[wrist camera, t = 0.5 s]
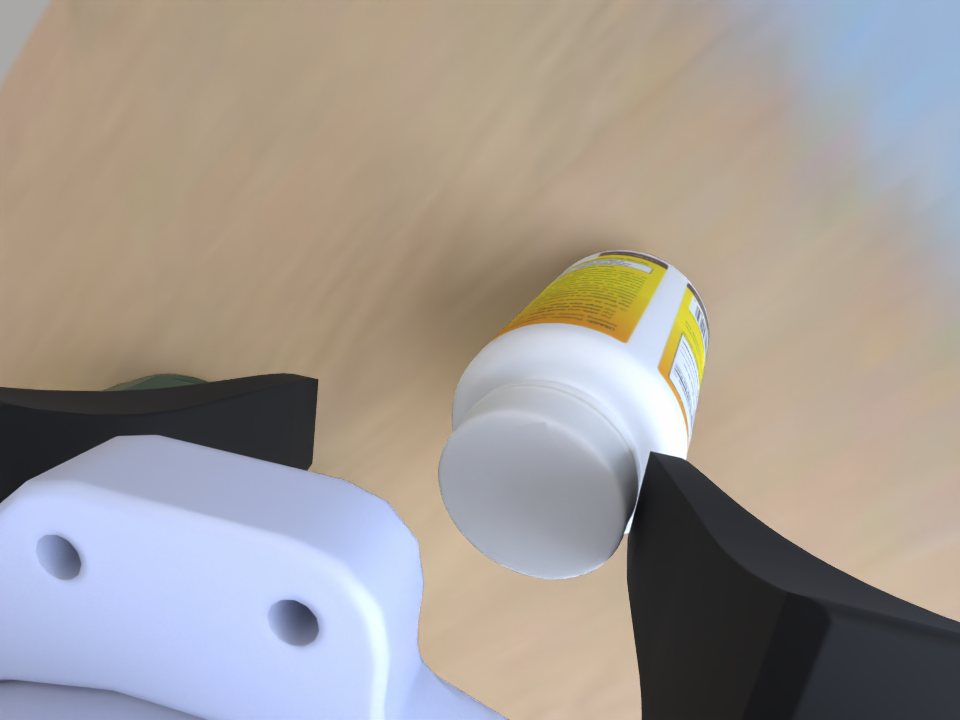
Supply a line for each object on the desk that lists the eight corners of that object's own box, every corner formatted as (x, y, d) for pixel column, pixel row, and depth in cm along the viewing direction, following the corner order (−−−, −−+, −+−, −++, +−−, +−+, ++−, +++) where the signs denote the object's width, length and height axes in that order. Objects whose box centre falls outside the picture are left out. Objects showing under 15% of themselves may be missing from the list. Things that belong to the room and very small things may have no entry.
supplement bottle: (516, 318, 22) (357, 467, 13) (627, 209, 19) (514, 311, 10) (621, 427, 22) (531, 646, 13) (750, 336, 19) (741, 546, 10)
